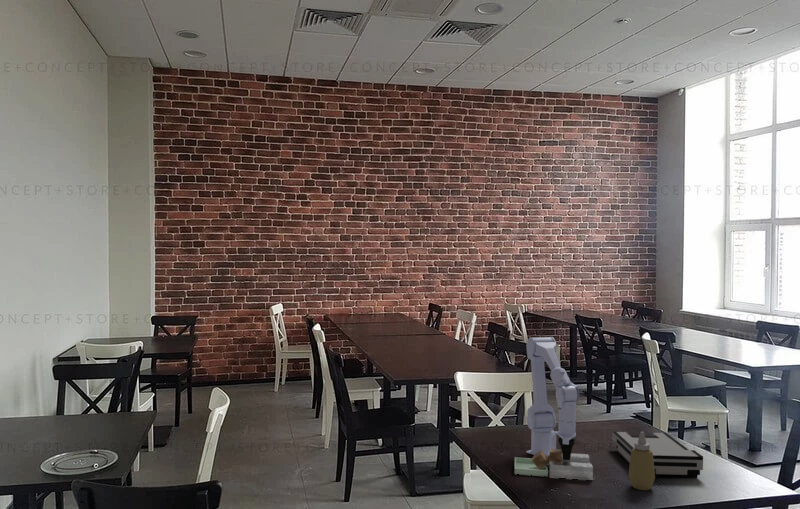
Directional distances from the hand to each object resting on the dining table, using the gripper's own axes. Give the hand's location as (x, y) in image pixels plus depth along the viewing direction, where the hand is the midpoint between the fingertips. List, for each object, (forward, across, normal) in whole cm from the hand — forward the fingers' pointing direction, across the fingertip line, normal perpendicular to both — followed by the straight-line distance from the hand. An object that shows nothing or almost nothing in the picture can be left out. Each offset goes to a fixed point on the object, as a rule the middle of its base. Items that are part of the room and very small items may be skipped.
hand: (566, 459), depth 217 cm
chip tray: (+4, +2, -12) cm, 13 cm away
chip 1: (+2, 0, -7) cm, 8 cm away
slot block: (+4, 0, +1) cm, 5 cm away
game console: (+5, -20, +30) cm, 37 cm away
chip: (+1, 0, -4) cm, 4 cm away
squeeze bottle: (+5, +7, +24) cm, 25 cm away
